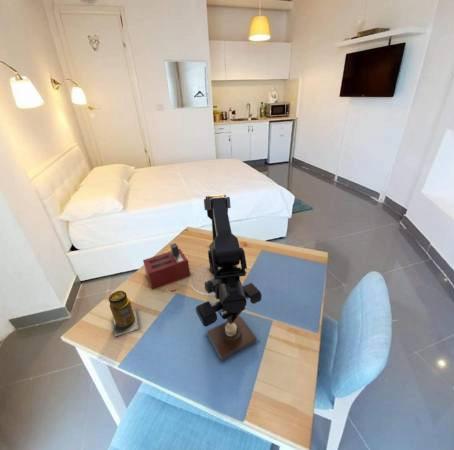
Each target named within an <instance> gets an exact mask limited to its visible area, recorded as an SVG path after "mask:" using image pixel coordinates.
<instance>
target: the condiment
mask: <svg viewBox="0 0 454 450" xmlns="http://www.w3.org/2000/svg"><path fill="white" fill-rule="evenodd" d="M108 302H109V309H110V311H111V314H112V317H113V333H114V337H119V336H121V335H124V334H127V333H130V332H132V331H135V330H139V324H138V317H137V311H136V310H134V309H133V306H132V304H131V301H130V297H128V295H127V292H126V291H124V290H117V291H114V292H112V293H111V294H110V296H109V297H108Z"/></svg>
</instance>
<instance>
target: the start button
mask: <svg viewBox="0 0 454 450" xmlns="http://www.w3.org/2000/svg"><path fill="white" fill-rule="evenodd" d="M225 333H226V335H227V336H234V335H236V333H237V326H236V324H235V323H232V324H230V323H227V324H226V326H225Z"/></svg>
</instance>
